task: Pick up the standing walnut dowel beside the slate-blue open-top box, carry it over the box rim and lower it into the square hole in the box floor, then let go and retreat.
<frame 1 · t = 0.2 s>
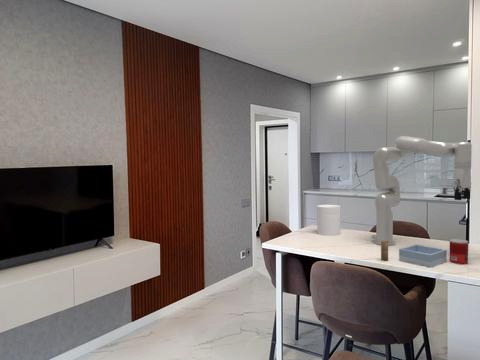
hand: (462, 199, 185), 31 cm above the table, tool pointing down, fingers open, 9 cm apart
canister: (328, 233, 258), on the table
walnut peg: (384, 260, 186), on the table
canned food: (458, 262, 180), on the table
slate box: (422, 261, 183), on the table
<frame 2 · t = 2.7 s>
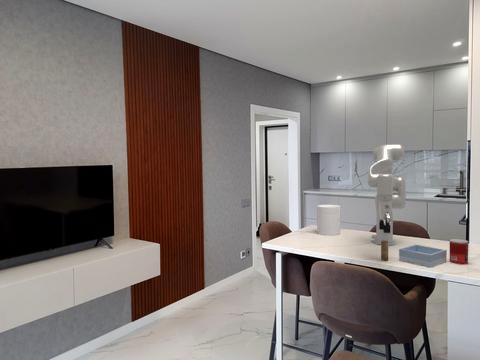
hand: (384, 231, 185), 15 cm above the table, tool pointing down, fingers open, 9 cm apart
nothing on the table moved.
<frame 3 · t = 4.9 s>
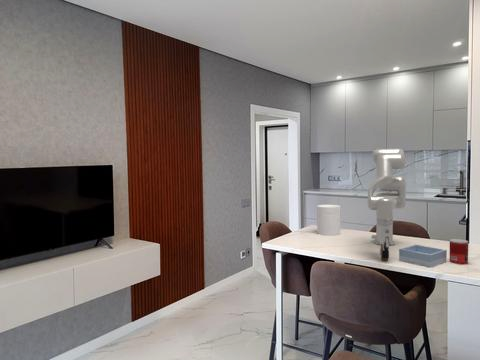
hand: (384, 256, 186), 2 cm above the table, tool pointing down, fingers closed on walnut peg, 3 cm apart
walnut peg: (384, 260, 186), on the table, touching gripper
everything else where it was.
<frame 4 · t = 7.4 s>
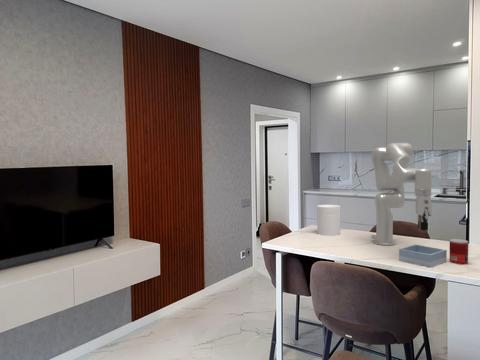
hand: (422, 228, 182), 17 cm above the table, tool pointing down, fingers closed on walnut peg, 3 cm apart
walnut peg: (422, 232, 182), point 15 cm above the table, touching gripper
everything else where it was.
when the fingers open (4 cm above the table, at t = 9.8 s): walnut peg drops 2 cm, resting in slate box.
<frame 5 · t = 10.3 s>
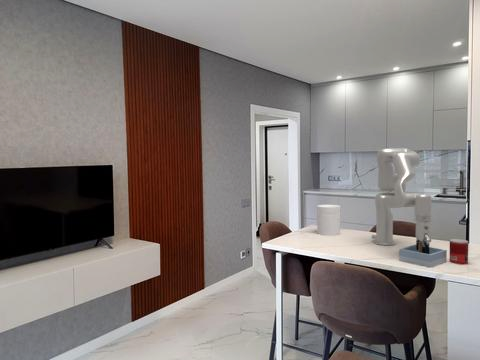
hand: (422, 252, 183), 5 cm above the table, tool pointing down, fingers open, 8 cm apart
walnut peg: (422, 261, 183), resting in slate box
everything else where it was.
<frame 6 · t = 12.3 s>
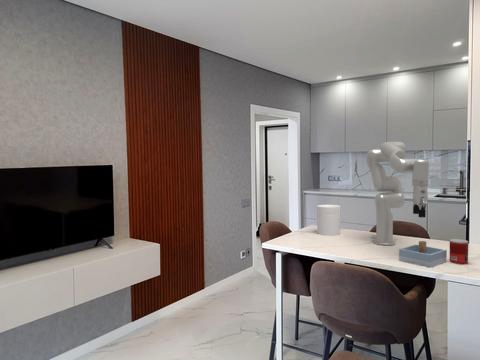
hand: (419, 215, 189), 22 cm above the table, tool pointing down, fingers open, 9 cm apart
nothing on the table moved.
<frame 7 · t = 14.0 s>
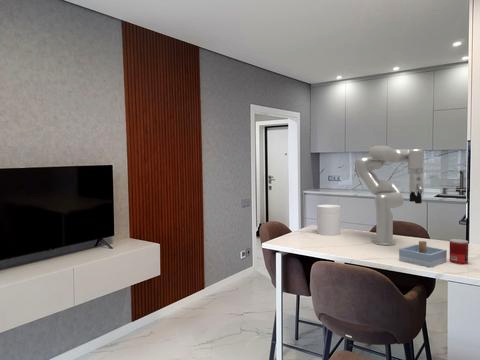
hand: (415, 202, 198), 28 cm above the table, tool pointing down, fingers open, 9 cm apart
nothing on the table moved.
at the end: walnut peg 0.1 cm off-centre on the slate box, point 0.0 cm above the slate box's base; walnut peg tilted 0°; the gripper is holding nothing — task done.
